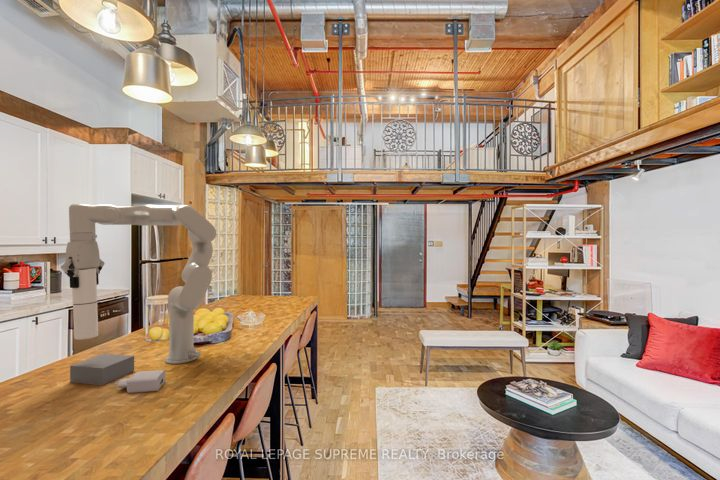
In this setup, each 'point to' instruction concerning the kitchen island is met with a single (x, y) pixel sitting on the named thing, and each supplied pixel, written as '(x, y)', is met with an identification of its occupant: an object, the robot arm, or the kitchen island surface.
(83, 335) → the cylindrical container
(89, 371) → the charcoal block
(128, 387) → the charger
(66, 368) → the kitchen island surface
